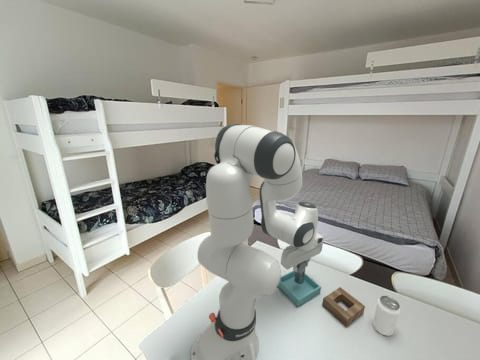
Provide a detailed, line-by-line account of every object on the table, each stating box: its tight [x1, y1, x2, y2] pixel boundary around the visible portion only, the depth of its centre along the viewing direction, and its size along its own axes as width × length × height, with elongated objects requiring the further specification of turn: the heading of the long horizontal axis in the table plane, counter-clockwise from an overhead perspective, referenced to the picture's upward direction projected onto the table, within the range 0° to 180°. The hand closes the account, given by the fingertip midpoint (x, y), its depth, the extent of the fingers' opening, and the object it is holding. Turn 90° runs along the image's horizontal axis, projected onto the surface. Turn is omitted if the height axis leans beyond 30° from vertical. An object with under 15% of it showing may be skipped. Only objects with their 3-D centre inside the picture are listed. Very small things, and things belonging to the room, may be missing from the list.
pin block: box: [321, 286, 366, 328], centre depth 84 cm, size 11×11×4 cm
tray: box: [277, 269, 322, 309], centre depth 93 cm, size 13×13×4 cm
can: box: [371, 295, 401, 337], centre depth 76 cm, size 6×6×12 cm
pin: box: [294, 261, 306, 284], centre depth 90 cm, size 4×4×10 cm
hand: (300, 268), depth 90 cm, fingers closed on pin, 4 cm apart
